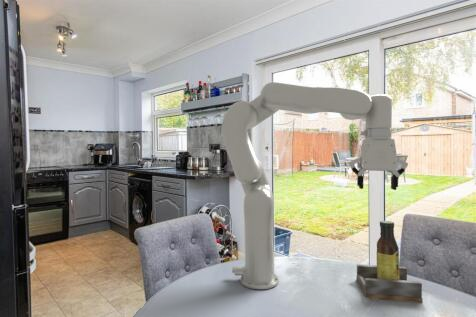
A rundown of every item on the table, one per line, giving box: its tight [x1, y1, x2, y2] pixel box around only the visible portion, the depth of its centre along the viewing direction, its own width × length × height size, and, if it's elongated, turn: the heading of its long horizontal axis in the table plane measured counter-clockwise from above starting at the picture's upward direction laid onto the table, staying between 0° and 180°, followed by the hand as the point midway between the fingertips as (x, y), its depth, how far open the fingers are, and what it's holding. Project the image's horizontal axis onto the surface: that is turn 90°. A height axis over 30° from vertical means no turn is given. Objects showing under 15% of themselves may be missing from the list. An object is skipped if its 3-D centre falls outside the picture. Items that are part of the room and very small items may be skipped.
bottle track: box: [356, 264, 423, 303], centre depth 94 cm, size 15×14×5 cm
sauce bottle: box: [376, 220, 400, 280], centre depth 94 cm, size 6×6×20 cm
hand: (377, 188), depth 97 cm, fingers open, 9 cm apart
